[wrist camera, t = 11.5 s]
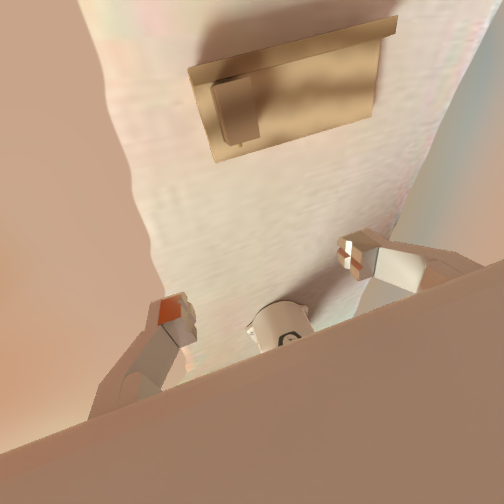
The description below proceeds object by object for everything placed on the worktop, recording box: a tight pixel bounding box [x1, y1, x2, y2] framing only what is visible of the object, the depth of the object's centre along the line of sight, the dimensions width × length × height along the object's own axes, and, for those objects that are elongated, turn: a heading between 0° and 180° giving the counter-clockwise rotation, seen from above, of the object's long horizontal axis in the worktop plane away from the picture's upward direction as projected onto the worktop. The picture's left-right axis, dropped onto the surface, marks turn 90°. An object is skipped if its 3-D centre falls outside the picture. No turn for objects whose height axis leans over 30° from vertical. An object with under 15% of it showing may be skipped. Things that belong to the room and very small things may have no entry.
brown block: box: [210, 76, 260, 147], centre depth 26 cm, size 7×4×5 cm, turn 12°
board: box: [188, 15, 398, 163], centre depth 29 cm, size 11×26×4 cm, turn 102°
